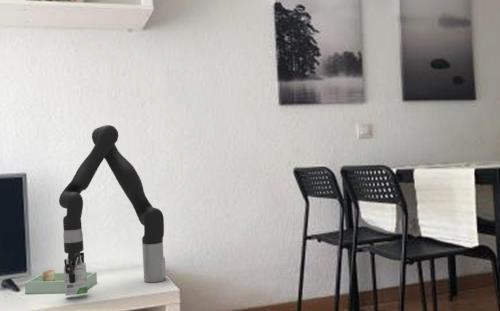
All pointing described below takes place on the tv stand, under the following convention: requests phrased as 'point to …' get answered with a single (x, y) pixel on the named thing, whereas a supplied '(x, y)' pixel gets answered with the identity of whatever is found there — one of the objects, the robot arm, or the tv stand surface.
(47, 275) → the beech cylinder
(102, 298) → the tv stand surface
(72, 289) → the ink box
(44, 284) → the tote
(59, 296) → the tv stand surface
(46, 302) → the tv stand surface
